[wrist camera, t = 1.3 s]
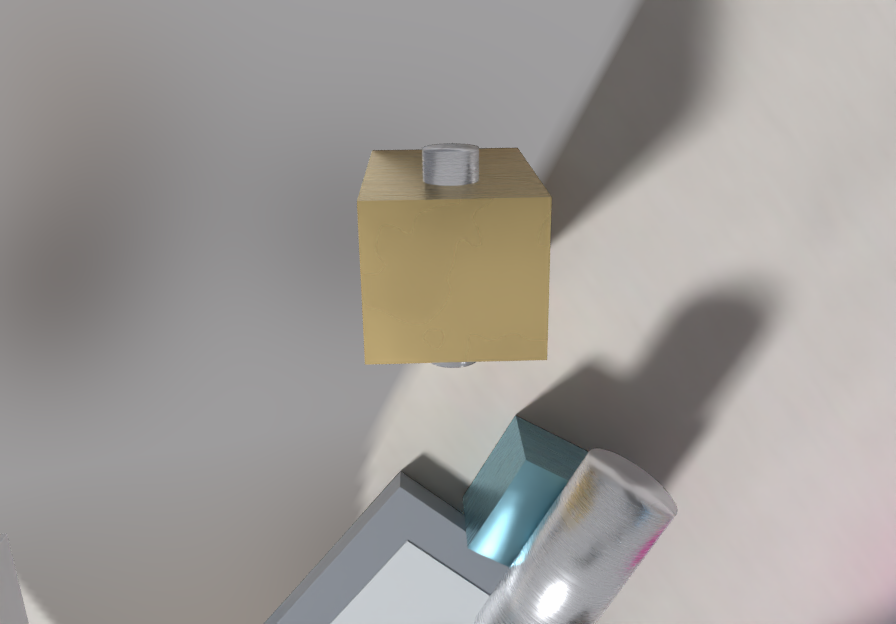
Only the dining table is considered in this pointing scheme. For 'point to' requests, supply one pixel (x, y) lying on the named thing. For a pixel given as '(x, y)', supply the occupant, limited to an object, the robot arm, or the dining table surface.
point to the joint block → (453, 256)
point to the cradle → (397, 567)
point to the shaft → (560, 526)
